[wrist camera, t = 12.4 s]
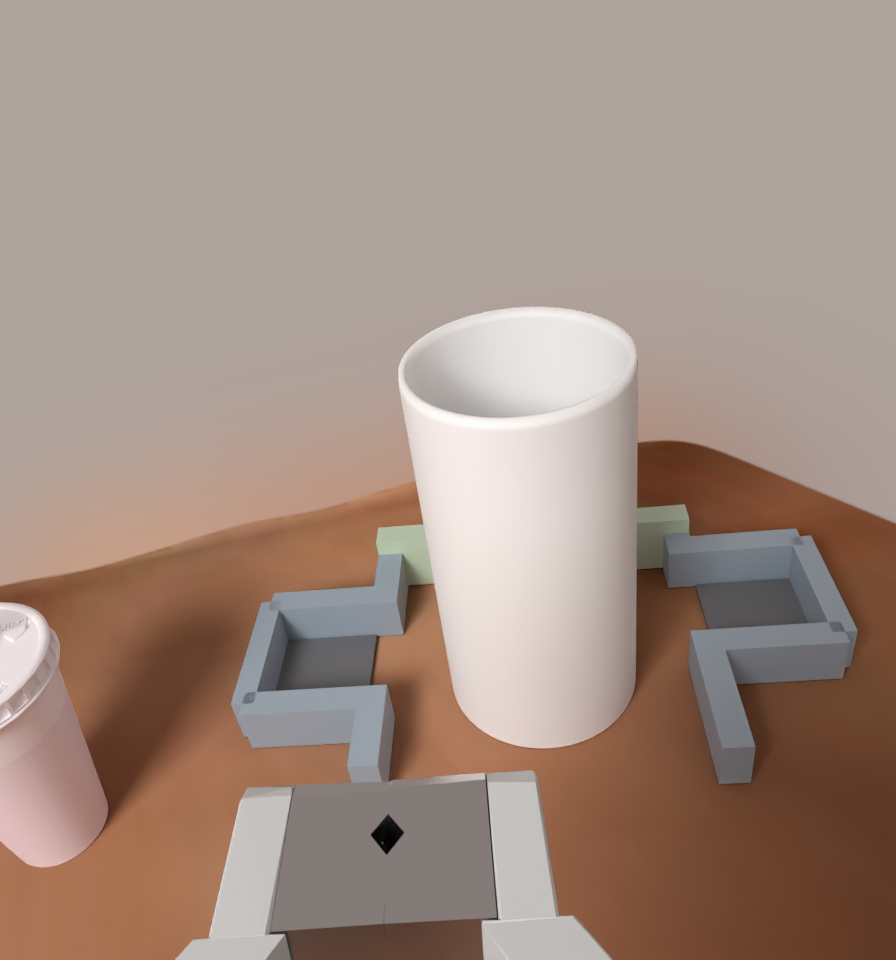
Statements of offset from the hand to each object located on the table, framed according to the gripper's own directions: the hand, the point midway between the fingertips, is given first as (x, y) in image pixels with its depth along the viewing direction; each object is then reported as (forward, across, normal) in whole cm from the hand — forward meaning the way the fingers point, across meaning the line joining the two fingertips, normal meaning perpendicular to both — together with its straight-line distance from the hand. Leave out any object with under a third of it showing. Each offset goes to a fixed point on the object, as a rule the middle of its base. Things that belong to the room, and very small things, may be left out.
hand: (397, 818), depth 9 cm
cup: (+23, -4, +19) cm, 30 cm away
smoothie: (+18, +16, +21) cm, 32 cm away
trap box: (+24, -4, +19) cm, 30 cm away
